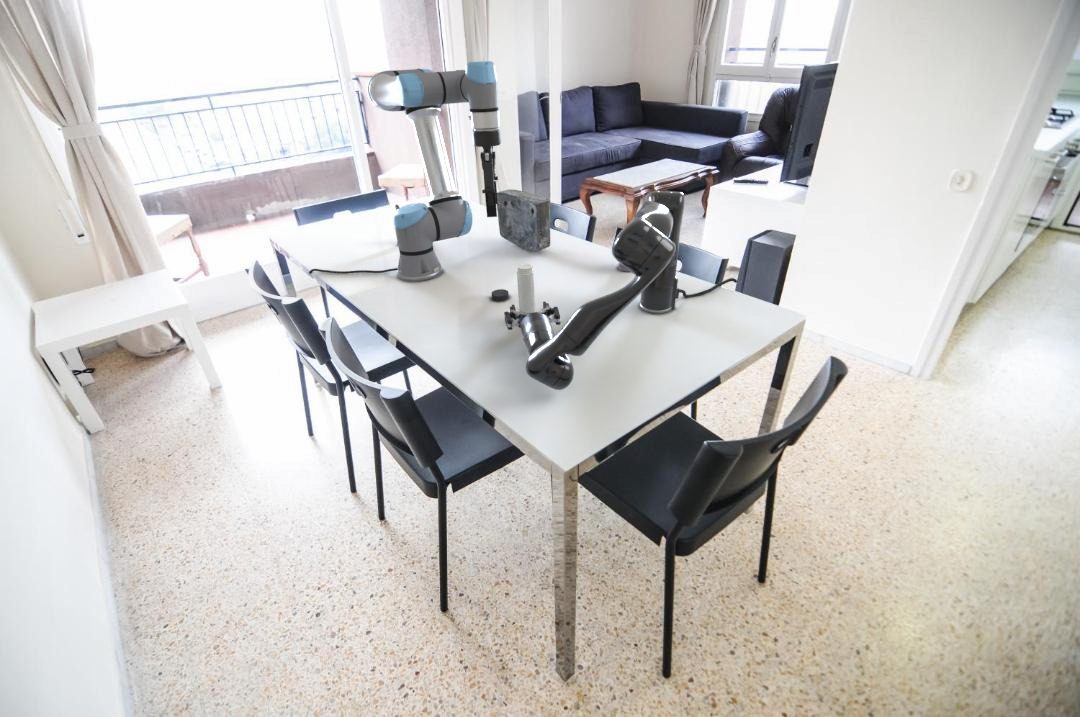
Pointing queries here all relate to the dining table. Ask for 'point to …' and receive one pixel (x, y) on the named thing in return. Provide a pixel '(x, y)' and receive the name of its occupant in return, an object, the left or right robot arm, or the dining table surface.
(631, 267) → the right robot arm
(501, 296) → the lid
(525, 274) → the cylinder
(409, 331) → the dining table surface
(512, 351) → the dining table surface
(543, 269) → the dining table surface
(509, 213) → the concrete block
